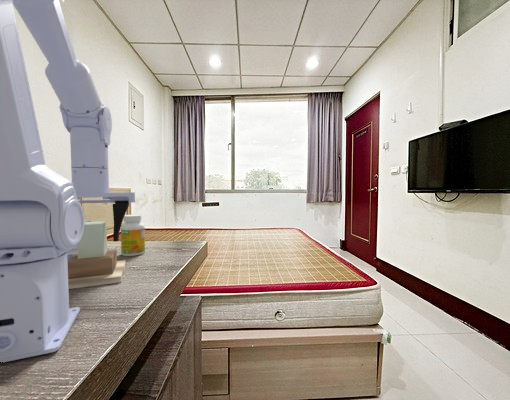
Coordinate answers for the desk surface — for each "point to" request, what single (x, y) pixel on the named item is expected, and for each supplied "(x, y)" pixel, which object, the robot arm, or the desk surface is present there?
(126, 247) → the supplement bottle
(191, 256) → the desk surface
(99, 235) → the sage pillar
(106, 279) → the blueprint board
